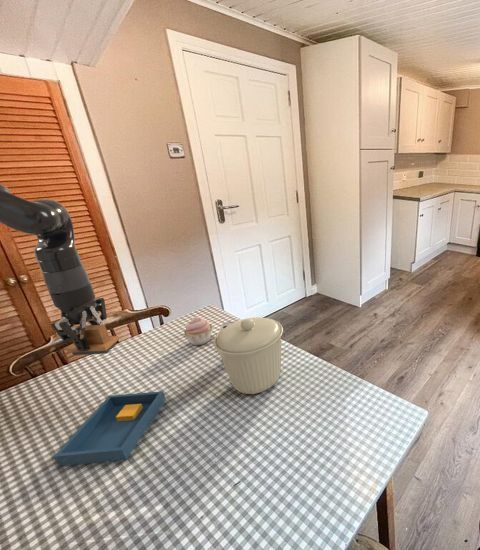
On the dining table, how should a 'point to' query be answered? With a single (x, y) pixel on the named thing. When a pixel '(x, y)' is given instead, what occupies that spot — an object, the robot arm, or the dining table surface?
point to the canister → (251, 353)
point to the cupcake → (198, 331)
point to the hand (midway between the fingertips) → (92, 343)
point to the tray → (110, 431)
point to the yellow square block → (129, 412)
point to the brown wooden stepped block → (95, 341)
